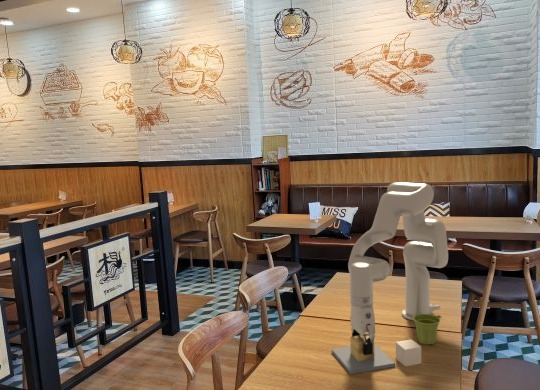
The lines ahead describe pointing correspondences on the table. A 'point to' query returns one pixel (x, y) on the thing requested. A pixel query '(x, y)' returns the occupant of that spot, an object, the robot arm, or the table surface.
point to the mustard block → (359, 348)
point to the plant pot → (426, 328)
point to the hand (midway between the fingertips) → (362, 348)
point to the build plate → (365, 365)
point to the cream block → (408, 352)
